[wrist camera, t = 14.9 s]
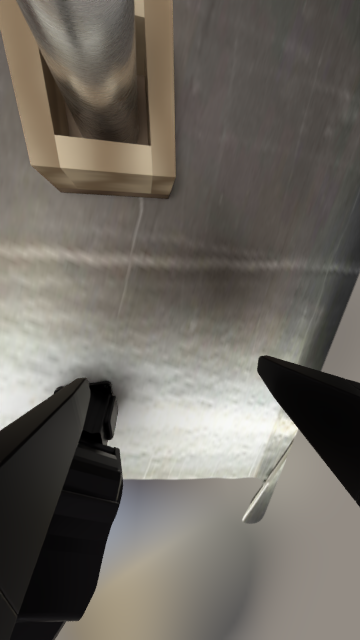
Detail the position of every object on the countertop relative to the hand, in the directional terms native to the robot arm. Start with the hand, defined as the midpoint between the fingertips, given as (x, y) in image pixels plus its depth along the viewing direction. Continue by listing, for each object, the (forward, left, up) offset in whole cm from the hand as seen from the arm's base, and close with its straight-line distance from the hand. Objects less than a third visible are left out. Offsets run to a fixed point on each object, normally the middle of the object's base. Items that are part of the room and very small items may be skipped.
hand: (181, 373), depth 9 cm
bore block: (-4, +17, -13) cm, 22 cm away
